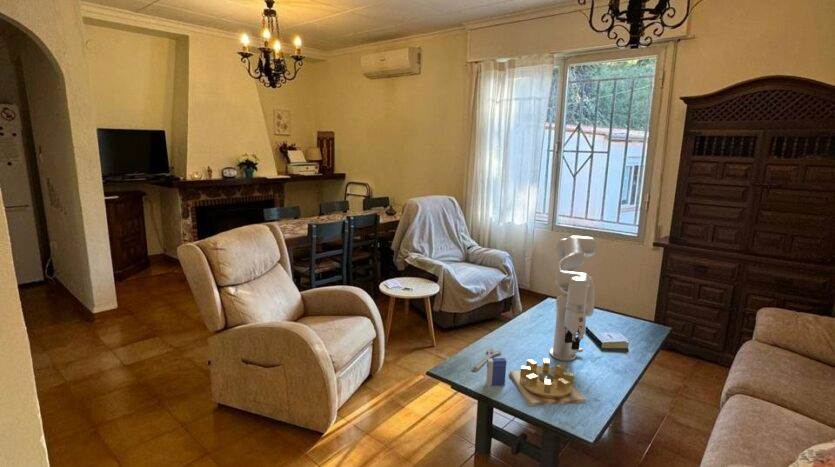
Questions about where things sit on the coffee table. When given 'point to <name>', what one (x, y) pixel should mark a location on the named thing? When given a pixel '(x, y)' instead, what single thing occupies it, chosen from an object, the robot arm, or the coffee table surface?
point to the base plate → (536, 400)
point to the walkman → (496, 371)
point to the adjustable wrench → (486, 358)
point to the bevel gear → (546, 380)
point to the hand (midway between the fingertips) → (571, 345)
